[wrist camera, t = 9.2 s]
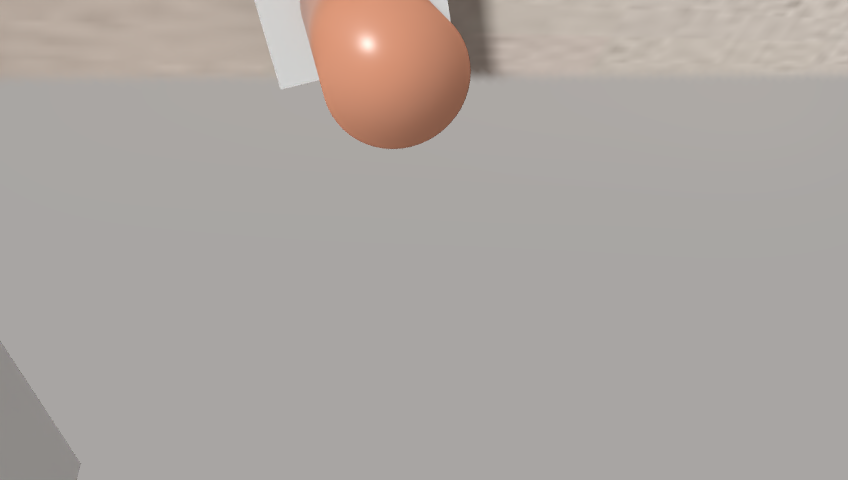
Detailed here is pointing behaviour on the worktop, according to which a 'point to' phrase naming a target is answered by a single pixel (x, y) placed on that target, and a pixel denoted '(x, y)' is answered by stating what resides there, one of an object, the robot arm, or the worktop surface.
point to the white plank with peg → (373, 63)
